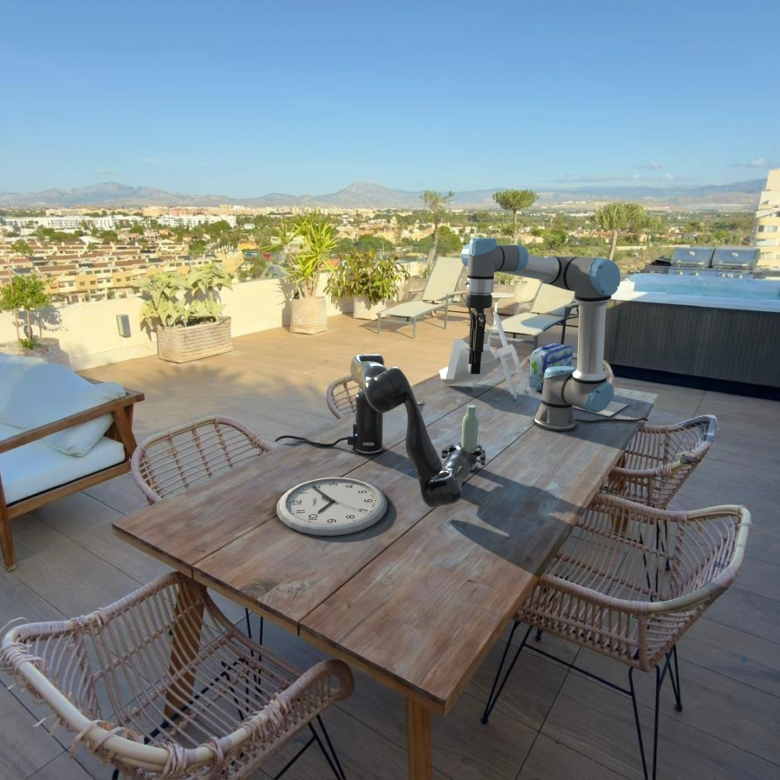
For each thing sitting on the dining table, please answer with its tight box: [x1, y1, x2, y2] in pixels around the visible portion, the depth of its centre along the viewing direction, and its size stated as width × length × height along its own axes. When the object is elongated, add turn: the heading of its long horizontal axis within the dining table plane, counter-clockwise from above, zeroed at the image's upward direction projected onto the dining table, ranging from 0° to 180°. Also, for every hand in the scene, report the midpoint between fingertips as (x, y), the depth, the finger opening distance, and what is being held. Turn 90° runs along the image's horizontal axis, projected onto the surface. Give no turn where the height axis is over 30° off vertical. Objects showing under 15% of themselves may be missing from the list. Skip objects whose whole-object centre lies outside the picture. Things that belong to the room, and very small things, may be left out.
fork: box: [417, 395, 425, 405], centre depth 222 cm, size 3×16×2 cm, turn 160°
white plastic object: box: [438, 310, 531, 400], centre depth 245 cm, size 37×45×31 cm
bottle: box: [460, 404, 480, 471], centre depth 164 cm, size 5×5×21 cm
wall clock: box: [276, 476, 388, 537], centre depth 142 cm, size 30×2×30 cm
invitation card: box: [573, 400, 629, 418], centre depth 226 cm, size 21×1×15 cm
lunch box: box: [528, 343, 574, 392], centre depth 249 cm, size 26×11×21 cm, turn 134°
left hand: (470, 445), depth 167 cm, fingers closed on bottle, 5 cm apart
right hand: (474, 371), depth 158 cm, fingers closed on cap, 4 cm apart
